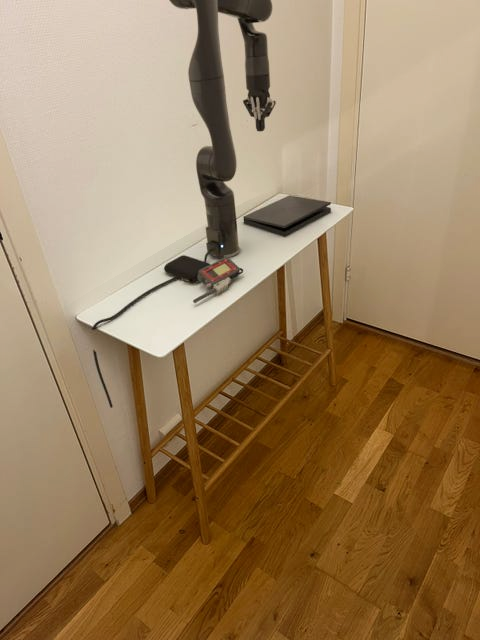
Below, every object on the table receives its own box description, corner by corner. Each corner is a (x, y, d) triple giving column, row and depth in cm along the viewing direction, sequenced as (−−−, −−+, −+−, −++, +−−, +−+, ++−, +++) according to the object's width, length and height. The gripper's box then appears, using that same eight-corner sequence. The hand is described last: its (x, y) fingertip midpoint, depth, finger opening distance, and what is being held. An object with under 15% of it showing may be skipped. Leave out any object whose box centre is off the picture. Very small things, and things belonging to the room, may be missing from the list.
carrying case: (159, 274, 139) (193, 287, 130) (157, 266, 137) (191, 278, 129) (184, 260, 145) (217, 272, 137) (182, 252, 143) (216, 263, 135)
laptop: (330, 212, 167) (330, 207, 166) (284, 236, 153) (284, 231, 152) (289, 201, 180) (289, 197, 179) (243, 223, 166) (243, 218, 165)
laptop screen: (330, 204, 166) (330, 202, 165) (284, 228, 152) (284, 226, 151) (289, 197, 179) (289, 195, 178) (243, 218, 165) (243, 216, 164)
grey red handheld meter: (249, 272, 131) (196, 301, 120) (246, 282, 134) (194, 311, 123) (229, 253, 133) (176, 280, 123) (226, 263, 137) (174, 290, 126)
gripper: (234, 73, 142) (238, 131, 152) (264, 74, 134) (267, 135, 144) (250, 70, 146) (254, 126, 156) (281, 70, 138) (283, 130, 148)
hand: (260, 130), depth 150 cm, fingers closed
